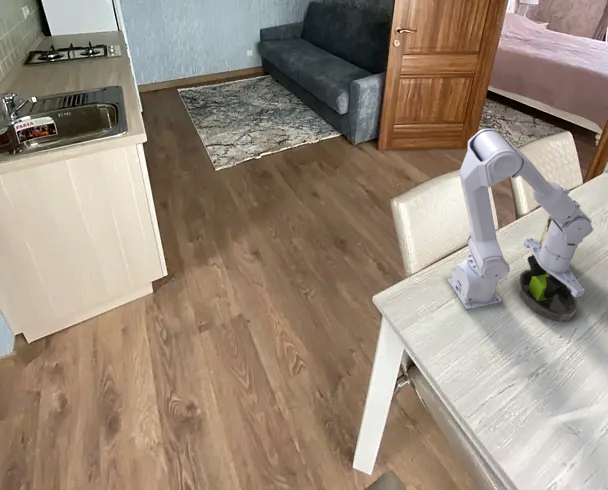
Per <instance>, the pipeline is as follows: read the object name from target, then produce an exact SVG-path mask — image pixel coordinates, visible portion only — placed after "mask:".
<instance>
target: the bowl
mask: <svg viewBox="0 0 608 490" xmlns="http://www.w3.org/2000/svg"><path fill="white" fill-rule="evenodd" d="M545 274H548V275H549V276H552V275H551V274H550V273H548V272H547V271H546V273H545ZM531 279H532V277H531V269H525V270H523V271H522V272H521V273H520V274H519V277H518V280H517V284H516V289H517V293H518V295H519V297H520V298H521V300H522V301H523V303H524V304H525V305H526V306H527V307H528V308H529V309H530V310H531V311H533V312H534V313H536V314H537V315H539V316H541V317H543V318H545V319H546V320H550V321H554V322H557V323H558V322H567V321H569V320H570V319H572V317H574V315H575V313H576V311H577V307H578V301H577V297H574V296H573V295H572V294H571V290H570V289H569V288H568V287H565V288H563V289H562V290H560V291H559V292H558V293H556V294H555V296H554V298H552V299H547V300H542V301H537V300H536V299H535V297H534V296H533V295H532V294H531V293H530V292H529V290H528V287H529V284H530V282H531Z"/></svg>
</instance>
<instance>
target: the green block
mask: <svg viewBox="0 0 608 490" xmlns="http://www.w3.org/2000/svg"><path fill="white" fill-rule="evenodd" d="M546 277H550V276H549V275H548V274H544V275H539V276H534V277H532V279H531V282H530V284H529V287H528V290H529V292H530V293H531V294H532V295H533V296H534V297H535V299H536V300H537V301H542V300H547V299H546V298H545V297H544V292H545V289H546V284H547V282H546ZM553 298H554V297H553ZM548 299H552V298H548Z"/></svg>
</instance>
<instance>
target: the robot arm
mask: <svg viewBox="0 0 608 490" xmlns="http://www.w3.org/2000/svg"><path fill="white" fill-rule="evenodd" d="M518 177H521V179H523V180H524V181H525V183H527V184H528V185H529V186H530V187H531V188H532V189H533V191H532V196H533V199H534V201H535V202H536V203H537V204H538V205H539V206H540V207H541V209H543V211H545V212H546V213H547V214H548V216H551V217H552V218H553V219H552V221H551V223H550V226H549V229H548V232H547V234H546V237H545V240H544V243H543V245H540V242H537V241H536V240H535V239H534V238H532V237H530V238H525V239H524V241H523V246H524V247H525V248H527V249H530V252H532V255H529V256H528V257H527V262H528V264H529V265H528V266H529V268H530V270H531V277H534V276H539V275H544V274H545V273H546V272H547V273H549V274H551V275H552V276H550V277H546V282H547V284H546V289H545V292H544V297H545V298H546V299H548V298H553V297H554V296H555V294H556V293H558V292H559V291H560V290H562V289H563V288H565V287H568V288H569V289H570V290H571V294H572V295H573V296H574V297H575V298H578V297H579V298H580V297H582V296H583V295H584V293H585V288H583V286H582V285H581V284H580V283H579V281H578V280H577V278H576V276H575V275H574V273H573V272H572V270H571V268H570V266H571V263H572V260H573V257H574V255H575V253H576V251H577V248H578V246H579V245H580V244H581V243H582V242H583V240H584V239H585V238H586V237H587V236H589V235H591V233H592V232H593V231H594V227H593V226H592V220H591V219H590V218H589V216H588V215H586V213H585V212H584V211H583V209H581V204H580V203H579V202H578V201H577V200H576V199H572V197H570V191H569V190H568V188H567V187H565V186H564V185H563V184H562V185H560V184H558V183H557V182H555V181H547V179H546V178H545V177H544V176H543V174H542V173H541V172H540V171H539V169H538V168H537V167H536V165H534V164H533V163H532V161H531V160H530V159H529V158H528V157H527V156H526V154H524V153H523V152H522V151H521V150H520V149H519V148H518V147H517V146H515V144H514V143H512V142H511V141H510V140H509V139H507V138H506V137H503V135H502V134H501V132H500V131H498V130H497V129H494V128H484V129H480V130H478V131H477V132H476V133H475V134H474V135H472V137H471V138H469V139H468V141H467V151H466V154H465V156H464V159H463V161H462V164H461V166H460V169H459V178H460V183H461V189H462V193H463V199H464V202H465V203H464V204H465V208H466V213H467V219H468V223H469V228H468V229H467V230H468V235H467V237H466V244H467V247H468V248H469V250H468V256H467V258H466V259H465V260H464V261H462V262H460V263H457V264H455V265H454V266H453V270H452V274H451V278H448V281H447V282H448V284H450V286H451V288H452V289H453V291H454V292H455V294H456V295H457V297H458V298H459V300H460V301H461V303H462V304H463V306H464V307H465V309H466V310H470V309H475V308H479V307H484V306H489V305H493V304H499V303H502V299H501V298H500V297H499V295H498V294H497V293H496V288H497V285H498V282H499V281H500V280H502V279H504V278H506V276H508V275H509V273H510V270H511V269H510V268H511V267H510V265H509V263H508V262H507V261H506V259H505V257H504V255H503V252H502V249H501V247H500V244H499V241H498V238H497V232H496V226H495V221H494V216H493V210H492V203H491V198H490V197H491V196H490V192H489V188H491V187H494V186H495V185H497V184H500V183H501V182H504V181H506V180H507V179H509V178H512V179H516V178H518Z"/></svg>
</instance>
